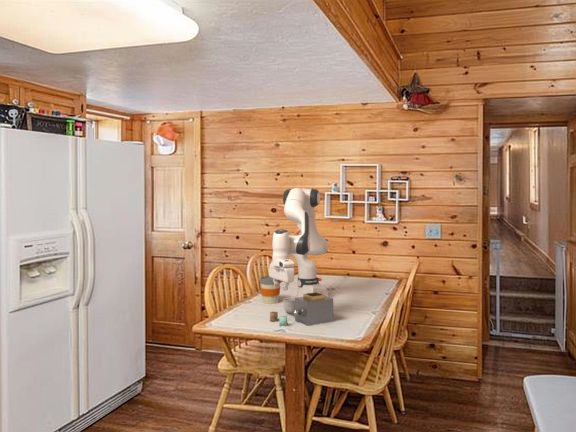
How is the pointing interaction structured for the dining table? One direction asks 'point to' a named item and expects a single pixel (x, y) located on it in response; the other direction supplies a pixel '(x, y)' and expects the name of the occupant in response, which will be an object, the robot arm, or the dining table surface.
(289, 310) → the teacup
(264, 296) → the reusable coffee cup
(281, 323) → the bead teal
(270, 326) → the dining table surface
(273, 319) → the bead walnut
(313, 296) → the box
